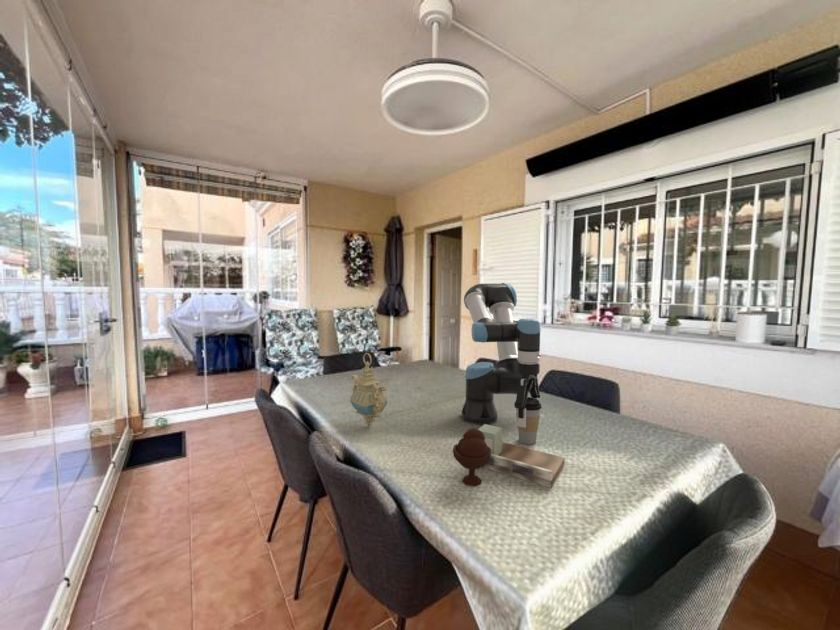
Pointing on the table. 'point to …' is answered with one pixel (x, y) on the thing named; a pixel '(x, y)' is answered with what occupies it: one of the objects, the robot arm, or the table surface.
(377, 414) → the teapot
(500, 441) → the pale green box
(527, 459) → the shelf board
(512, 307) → the robot arm
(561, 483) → the table surface
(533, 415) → the coffee cup
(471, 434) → the ice cream bowl
